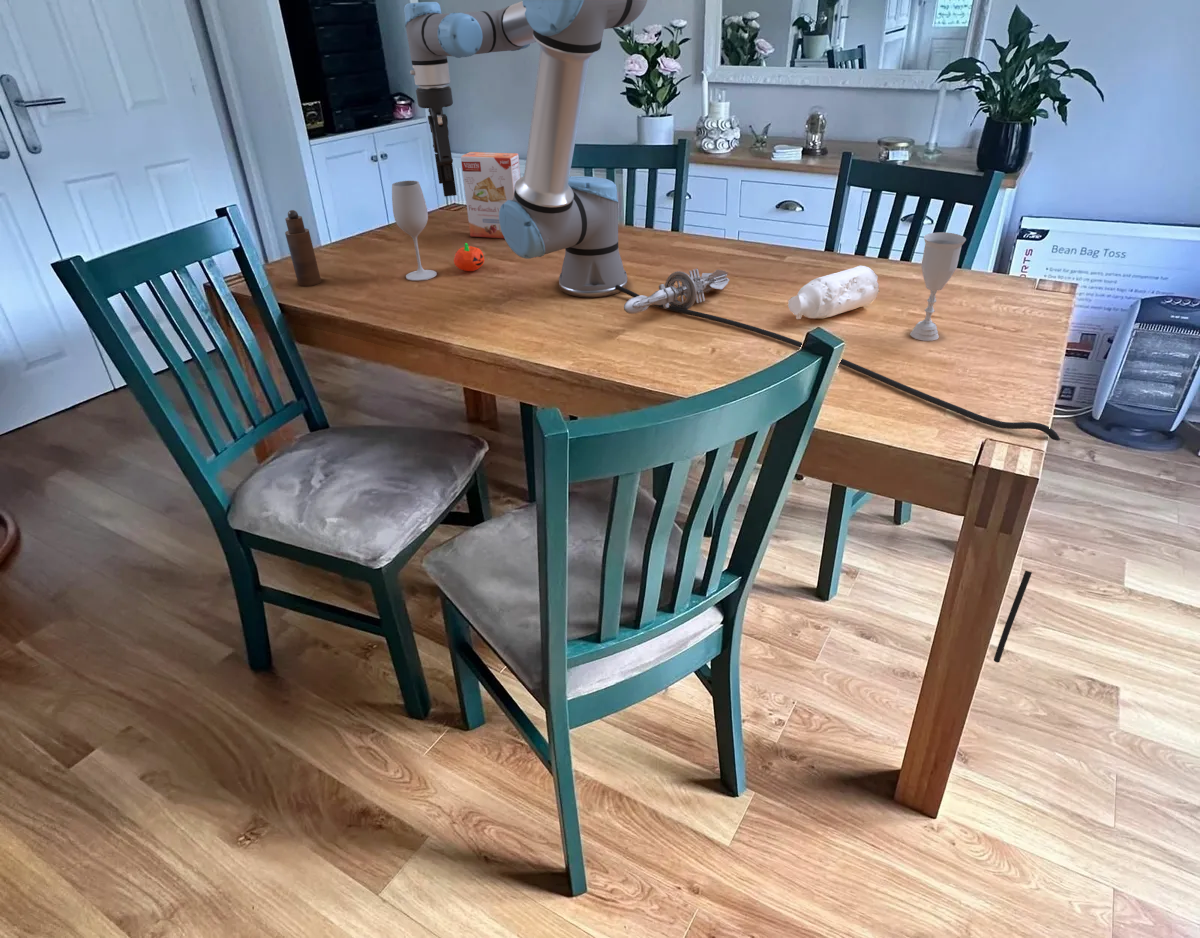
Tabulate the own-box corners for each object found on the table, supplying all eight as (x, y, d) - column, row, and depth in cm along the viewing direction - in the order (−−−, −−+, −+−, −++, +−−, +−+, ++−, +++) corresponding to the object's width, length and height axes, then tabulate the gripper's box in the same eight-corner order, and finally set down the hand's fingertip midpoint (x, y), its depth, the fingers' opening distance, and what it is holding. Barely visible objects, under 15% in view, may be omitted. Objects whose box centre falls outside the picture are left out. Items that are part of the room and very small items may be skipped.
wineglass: (434, 280, 178) (418, 186, 167) (401, 281, 179) (384, 188, 167) (440, 270, 185) (426, 179, 173) (409, 271, 185) (392, 180, 174)
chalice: (913, 325, 147) (932, 230, 137) (949, 333, 143) (971, 236, 133) (898, 337, 142) (917, 240, 132) (936, 346, 138) (957, 246, 128)
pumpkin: (486, 263, 188) (483, 237, 184) (483, 274, 181) (480, 247, 178) (457, 264, 188) (453, 238, 184) (453, 275, 181) (449, 248, 177)
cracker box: (469, 237, 207) (459, 155, 196) (478, 231, 212) (469, 151, 201) (517, 240, 203) (509, 156, 192) (526, 233, 208) (518, 152, 197)
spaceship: (604, 291, 145) (635, 283, 140) (707, 262, 169) (738, 254, 163) (614, 332, 147) (645, 326, 142) (715, 298, 171) (745, 291, 165)
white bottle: (777, 319, 151) (781, 280, 147) (846, 298, 159) (851, 261, 155) (806, 332, 146) (810, 292, 141) (876, 309, 153) (882, 271, 149)
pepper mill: (325, 281, 181) (308, 209, 172) (305, 287, 177) (286, 214, 168) (313, 277, 184) (296, 206, 175) (293, 283, 180) (275, 210, 171)
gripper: (412, 81, 174) (427, 179, 185) (418, 94, 153) (435, 203, 165) (445, 79, 175) (458, 176, 187) (456, 91, 155) (470, 199, 166)
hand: (447, 189), depth 176 cm, fingers open, 13 cm apart
